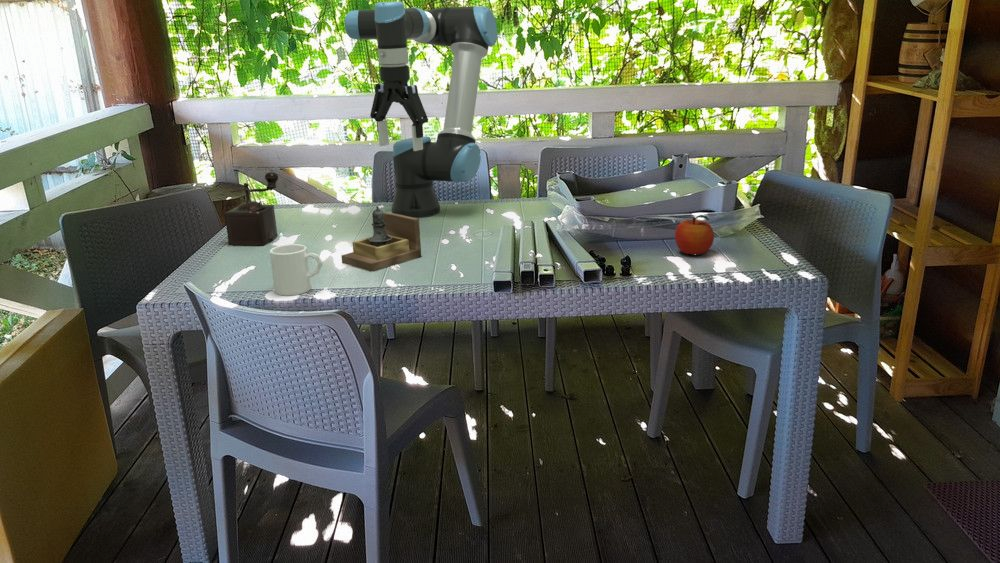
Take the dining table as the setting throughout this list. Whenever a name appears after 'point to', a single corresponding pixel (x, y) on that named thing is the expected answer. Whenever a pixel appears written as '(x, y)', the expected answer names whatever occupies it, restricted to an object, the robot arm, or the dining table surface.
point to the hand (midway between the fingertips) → (401, 147)
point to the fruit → (694, 236)
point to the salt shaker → (379, 229)
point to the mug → (292, 269)
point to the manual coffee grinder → (252, 219)
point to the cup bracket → (388, 245)
